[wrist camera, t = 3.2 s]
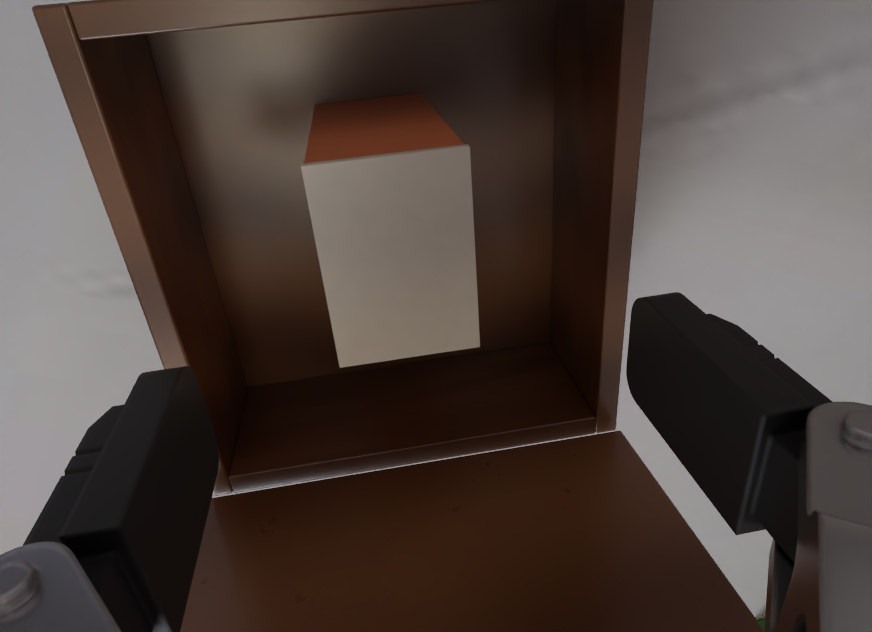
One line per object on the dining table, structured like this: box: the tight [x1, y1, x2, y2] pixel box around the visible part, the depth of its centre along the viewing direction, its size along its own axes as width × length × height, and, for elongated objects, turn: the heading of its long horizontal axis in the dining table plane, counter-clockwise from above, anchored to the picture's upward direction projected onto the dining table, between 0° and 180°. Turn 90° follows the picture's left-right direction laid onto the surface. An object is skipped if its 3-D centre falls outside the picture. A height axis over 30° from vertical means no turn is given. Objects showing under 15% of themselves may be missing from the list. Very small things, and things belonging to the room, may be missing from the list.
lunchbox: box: [32, 0, 653, 496], centre depth 21 cm, size 16×15×6 cm
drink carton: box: [301, 93, 480, 368], centre depth 18 cm, size 5×4×8 cm
